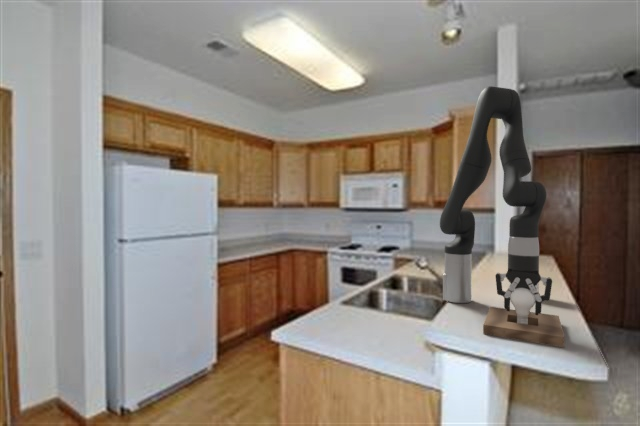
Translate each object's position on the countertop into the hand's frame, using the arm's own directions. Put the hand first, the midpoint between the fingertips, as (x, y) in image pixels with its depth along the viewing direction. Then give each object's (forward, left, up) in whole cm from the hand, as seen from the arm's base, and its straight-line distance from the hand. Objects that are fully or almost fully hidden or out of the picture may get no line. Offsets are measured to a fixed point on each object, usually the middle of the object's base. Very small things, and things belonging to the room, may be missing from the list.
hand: (522, 312), depth 100 cm
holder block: (0, 0, -5) cm, 5 cm away
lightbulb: (0, 0, -4) cm, 4 cm away
